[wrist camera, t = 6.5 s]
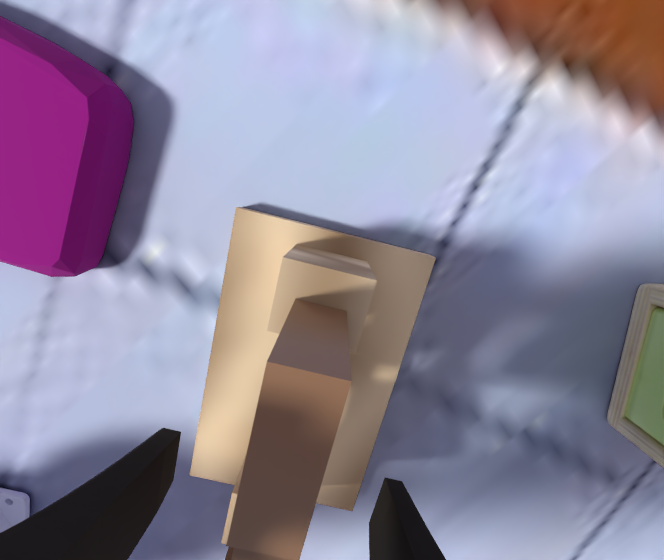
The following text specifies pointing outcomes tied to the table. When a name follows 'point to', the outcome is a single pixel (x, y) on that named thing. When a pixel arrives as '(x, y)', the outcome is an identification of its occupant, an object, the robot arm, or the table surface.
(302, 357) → the brown bar
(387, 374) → the stand
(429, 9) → the table surface
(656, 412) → the toy sink
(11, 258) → the spray bottle
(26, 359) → the table surface
